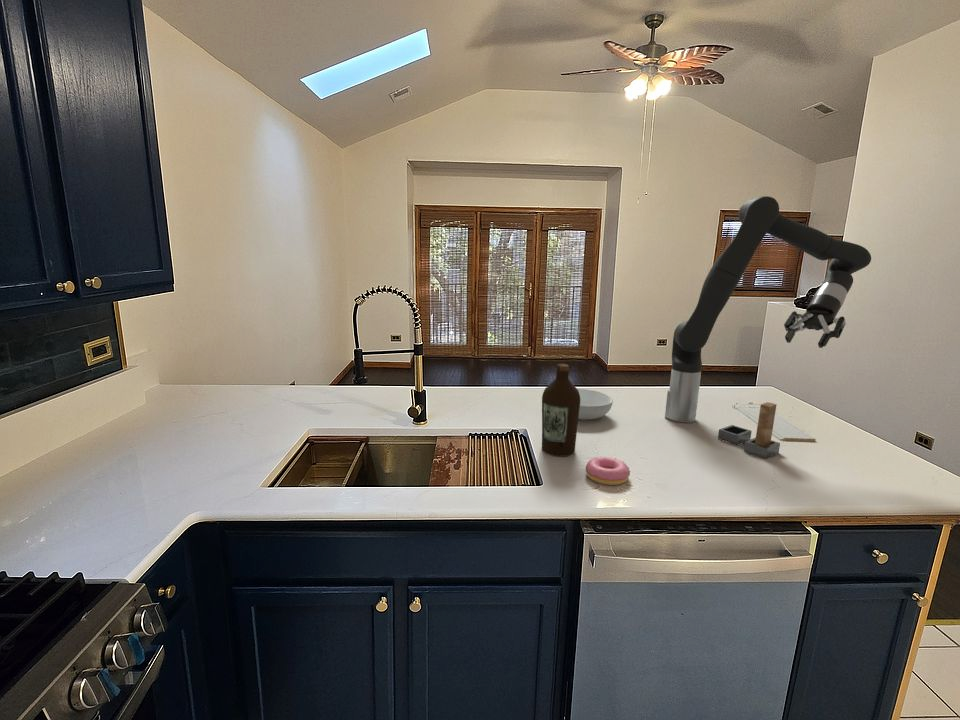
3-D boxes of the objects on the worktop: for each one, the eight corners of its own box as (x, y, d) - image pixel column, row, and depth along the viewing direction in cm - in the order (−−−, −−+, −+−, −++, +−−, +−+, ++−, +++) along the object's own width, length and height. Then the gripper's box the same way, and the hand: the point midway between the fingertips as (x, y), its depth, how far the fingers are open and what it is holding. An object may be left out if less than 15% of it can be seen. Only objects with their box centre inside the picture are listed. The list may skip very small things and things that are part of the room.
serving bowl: (608, 429, 159) (610, 409, 158) (544, 421, 166) (545, 401, 164) (613, 410, 179) (615, 391, 177) (555, 403, 185) (556, 385, 184)
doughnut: (579, 468, 131) (580, 454, 130) (620, 467, 132) (621, 453, 131) (592, 488, 121) (593, 472, 120) (636, 487, 121) (637, 471, 121)
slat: (753, 450, 143) (760, 404, 140) (760, 447, 146) (767, 402, 142) (762, 453, 141) (770, 406, 138) (769, 450, 144) (776, 404, 140)
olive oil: (547, 440, 150) (552, 359, 144) (582, 447, 144) (587, 363, 139) (533, 452, 141) (537, 366, 135) (569, 460, 135) (575, 371, 130)
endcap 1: (717, 438, 153) (718, 429, 152) (730, 433, 157) (732, 424, 157) (737, 445, 148) (738, 435, 147) (750, 439, 152) (751, 430, 152)
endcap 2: (743, 451, 144) (745, 441, 143) (757, 445, 148) (758, 436, 147) (765, 458, 139) (767, 448, 138) (778, 452, 143) (780, 443, 143)
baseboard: (774, 441, 153) (814, 443, 152) (776, 433, 152) (816, 434, 152) (730, 409, 183) (764, 410, 182) (731, 401, 182) (765, 403, 182)
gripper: (798, 291, 151) (774, 331, 147) (853, 295, 140) (829, 339, 136) (803, 307, 155) (780, 347, 151) (857, 313, 144) (833, 356, 140)
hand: (803, 343), depth 144 cm, fingers open, 8 cm apart
